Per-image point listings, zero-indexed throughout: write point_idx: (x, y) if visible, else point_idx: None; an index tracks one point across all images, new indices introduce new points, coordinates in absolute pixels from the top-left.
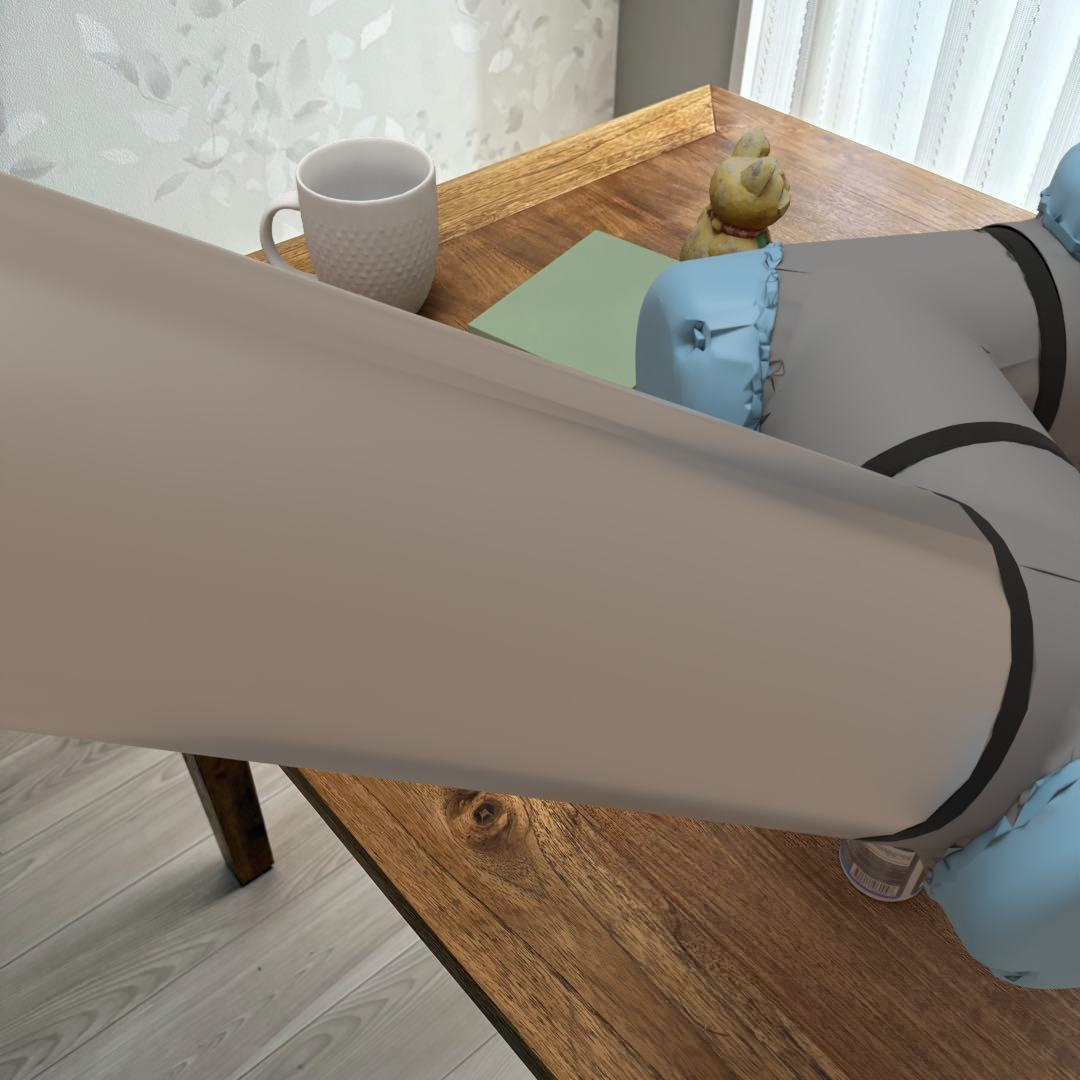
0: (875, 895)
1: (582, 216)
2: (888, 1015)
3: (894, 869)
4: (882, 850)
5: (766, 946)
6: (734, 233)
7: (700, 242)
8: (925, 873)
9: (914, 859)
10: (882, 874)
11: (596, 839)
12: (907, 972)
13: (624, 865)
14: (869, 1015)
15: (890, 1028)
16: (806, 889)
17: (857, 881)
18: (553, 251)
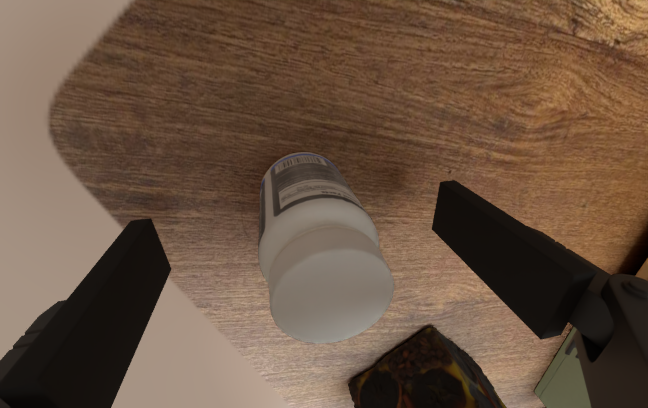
0: (290, 156)
1: None
2: (204, 44)
3: (289, 180)
4: (314, 186)
5: (351, 27)
6: None
7: None
8: (261, 201)
9: (277, 202)
10: (297, 170)
11: (549, 17)
12: (220, 106)
13: (515, 8)
14: (219, 28)
15: (192, 29)
16: (346, 118)
17: (312, 155)
18: None
